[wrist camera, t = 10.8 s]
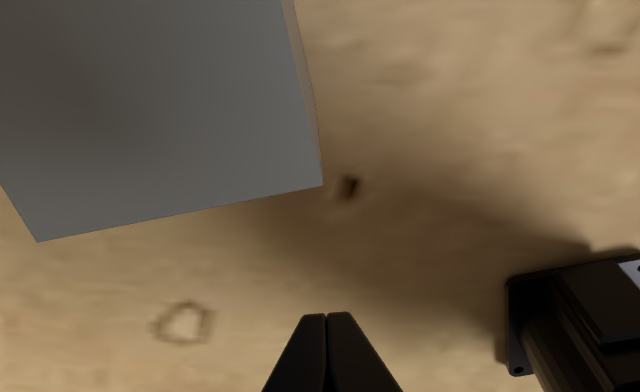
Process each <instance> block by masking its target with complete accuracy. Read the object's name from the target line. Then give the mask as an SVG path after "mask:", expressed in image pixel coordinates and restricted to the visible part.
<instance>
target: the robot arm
mask: <svg viewBox="0 0 640 392" xmlns="http://www.w3.org/2000/svg"><path fill="white" fill-rule="evenodd" d="M639 265H640V253H639V254H633V255H628V256H622V257H617V258H611V259H606V260H600V261H595V262H589V263H583V264H578V265H572V266H567V267H561V268H556V269H550V270H545V271H539V272H534V273H528V274H523V275H517V276H513V277H511V278H510V279H508V280H507V282H506V283H505V331H506V367H507V369H508V372H509V374H510V375H511V376H514V377H519V376H525V375H531V374H535V375H536V377H537V379H538V381H539V383H540V385H541V387H542V389H543V391H544V392H640V266H639ZM517 286H519V287H518V288H515V287H517ZM261 392H403V391H402V389H401V388H400V386H399V385H398V383H397V382H396V380H395V379H394V377H393V376H392V374H391V373H390V371H389V370H388V368H387V367H386V365H385V364H384V362H383V361H382V360H381V358H380V357H379V355H378V354H377V352H376V351H375V349H374V348H373V346H372V345H371V343H370V342H369V340H368V339H367V337H366V336H365V334H364V333H363V331H362V330H361V328H360V327H359V325H358V324H357V322H356V321H355V319H354V318H353V317H352V315H351V314H350V313H349V312H332V313H328V314H327V316H325V314H323V313H319V314H306V315H304V316H302V318H301V319H300V321H299V323H298V325H297V327H296V328H295V330H294V332H293V334H292V336H291V338H290V339H289V341H288V343H287V345H286V347H285V349H284V351H283V352H282V354H281V356H280V358H279V360H278V362H277V363H276V365H275V367H274V369H273V371H272V373H271V375H270V376H269V378H268V380H267V382H266V384H265V386H264V387H263V389H262V391H261Z"/></svg>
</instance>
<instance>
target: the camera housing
mask: <svg viewBox="0 0 640 392" xmlns="http://www.w3.org/2000/svg"><path fill="white" fill-rule="evenodd" d="M0 184H1V186H2V187H3V189H4V191H5V192H6V194H7V195H8V197H9V199H10V200H11V202H12V203H13V205H14V207H15V208H16V210H17V211H18V213H19V215H20V216H21V218H22V219H23V221H24V223H25V224H26V226H27V228H28V229H29V231H30V232H31V234H32V236H33V237H34V239H35V240H36V242H37V243H38V242H43V241H48V240H53V239H58V238H63V237H68V236H73V235H78V234H83V233H88V232H93V231H98V230H103V229H108V228H113V227H118V226H123V225H128V224H133V223H138V222H143V221H148V220H153V219H158V218H163V217H168V216H173V215H178V214H183V213H188V212H193V211H198V210H203V209H208V208H213V207H218V206H223V205H228V204H233V203H238V202H243V201H248V200H253V199H258V198H263V197H268V196H273V195H278V194H284V193H289V192H294V191H299V190H304V189H309V188H314V187H319V186H323V175H322V164H321V153H320V142H319V131H318V121H317V110H316V104H315V99H314V95H313V90H312V86H311V81H310V76H309V72H308V67H307V63H306V58H305V54H304V49H303V45H302V40H301V36H300V31H299V26H298V22H297V17H296V13H295V8H294V4H293V0H0Z"/></svg>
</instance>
